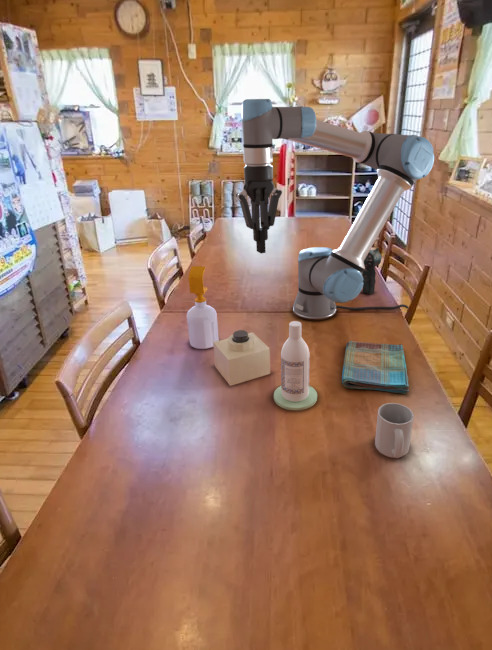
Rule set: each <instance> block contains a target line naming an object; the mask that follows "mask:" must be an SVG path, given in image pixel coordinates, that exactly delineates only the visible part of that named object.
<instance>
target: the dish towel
mask: <svg viewBox="0 0 492 650" xmlns="http://www.w3.org/2000/svg"><path fill="white" fill-rule="evenodd" d="M405 357H406V356H405V350H404V346H403V344H392V343H379V342H378V343H376V342H366V341H365V342H364V341H363V342H362V341H353V340H349V341H347V342H346V346H345V352H344V359H343V366H342V375H341V384H342V385H343V387H345V388H346V389H356V390H369V391H370V390H371V391H380V392H388V393H395V394H403V395H406V394H407V393H409V392H410V389H409V388H410V385H409V377H408V369H407V364H406V358H405Z"/></svg>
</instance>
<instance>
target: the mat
mask: <svg viewBox="0 0 492 650" xmlns="http://www.w3.org/2000/svg"><path fill="white" fill-rule="evenodd" d="M273 400H274V403H275V404H276V406H279V407H280V408H282V409H284V410H287V411H295V412H296V411H304V410H308V409H309V408H311V407H313V406H314V405H315V404H316V403H317V401H318V392H317V390H316V389H315V388H314V387H312V386H311V385H309V395H308V397H307V398H306V399H305V400H303V401H299V402H292V401H288V400H286V399H285V398H283V396H282V393H281V385H280V386H278V387H276V389H275V390H274V392H273Z"/></svg>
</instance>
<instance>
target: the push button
mask: <svg viewBox="0 0 492 650" xmlns="http://www.w3.org/2000/svg"><path fill="white" fill-rule="evenodd" d="M248 333H249V332H248V331H247V330H244V329H239V330H235V331H233V333H232V335H233V341H234V342H236V343H244V342H247V341H248Z"/></svg>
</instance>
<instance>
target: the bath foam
mask: <svg viewBox="0 0 492 650" xmlns="http://www.w3.org/2000/svg"><path fill="white" fill-rule="evenodd" d="M302 329H303V327H302V322H300V321H298V320H293V321H290V322H289V323H288V338H287V339H286V340H285V342H284V343H283V345H282V347H281V350H280V386H281V393H282V396H283V398H285V399H286V400H288V401H292V402H299V401H303V400H305V399H306V398H307V397H308V395H309V386H310V359H311V356H310V355H311V354H310V348H309V346H308V343H306V341H305V340H304V338H303V337H302Z"/></svg>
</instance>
